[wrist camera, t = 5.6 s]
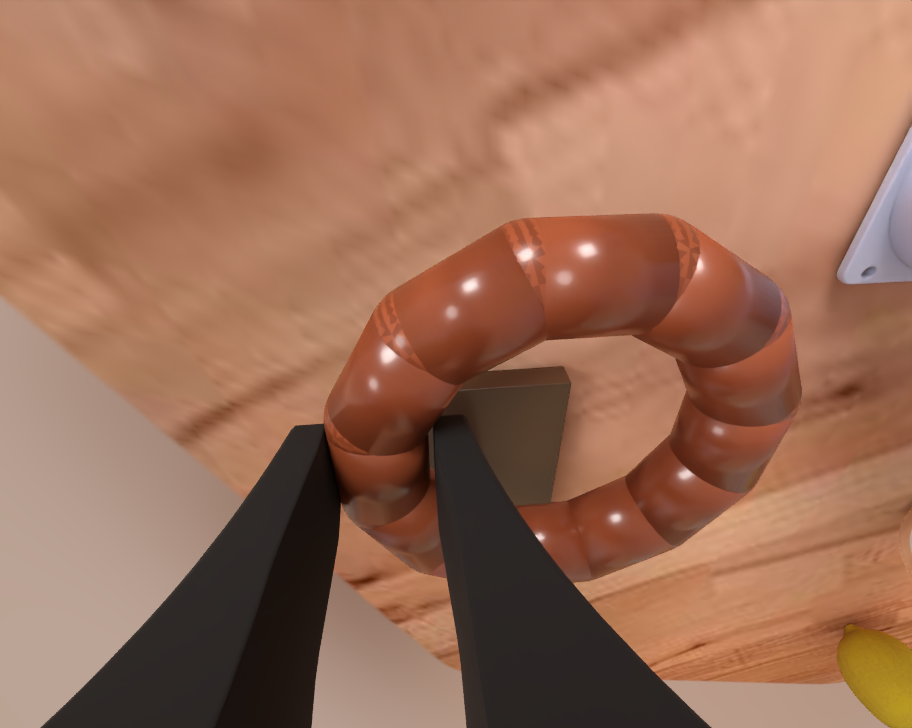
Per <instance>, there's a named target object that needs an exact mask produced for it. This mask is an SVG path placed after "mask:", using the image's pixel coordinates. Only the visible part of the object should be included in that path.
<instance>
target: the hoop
mask: <svg viewBox="0 0 912 728" xmlns="http://www.w3.org/2000/svg"><path fill="white" fill-rule="evenodd" d="M625 335H632V336H634V337H636V338H638V339H640V340H642V341H643V342H645V343H647V344H649V345H651V346H653V347H655V348H657V349H659V350H661V351H663V352H665V353H667V354H669V355H671V356H673V357H674V358H676V361H677V364H678V367H679V370H680V373H681V375H682V378H683V381H684V384H685V387H686V389H687V391H686V393H685V396H684V399H683V401H682V404H681V407H680V410H679V412H678V415H677V418H676V420H675V423H674V426H673V428H672V431H671V434H670V435H669V436H668V437H667V438H666V439H665V440H664V441H662V442H661V443H660V444H659V445H658V446H657V447H656V448H655V449H654V450H653V451H652V452H651V453H650V454H649V455H648V456H646V457H645V458H644V459H643V460H642V461H641V462H640V463H639V464H638V465H637V466H636V467H635V468H634V469H633V470H632V471H630V472H629V473H628V474H627V475H626V476H624V477H621V478H619V479H617V480H615V481H612V482H610V483H608V484H605V485H603V486H601V487H598V488H596V489H594V490H591V491H589V492H587V493H585V494H582V495H580V496H578V497H575V498H573V499H571V500H568V501H563V502H552V503H541V504H530V505H519V506H515V507H516V508H517V510H518V511H519V513H520V514H521V516H522V517H523V519H524V520H525V522H526V523H527V524H528V526H529V527H530V529H531V530H532V531H533V533H534V534H535V536H536V537H537V538H538V540H539V541H540V542H541V544H542V545H543V546H544V548H545V549H546V550H547V552H548V553H549V554H550V556H551V557H552V558H553V560H554V561H555V562H556V563H557V565H558V566H559V567H560V568H561V570H562V571H563V572H564V573H565V575H566V576H567V577H568V578H569V579H570V581H571V582H572V583H576V582H585V581H590V580H595V579H597V578H600V577H602V576H605V575H608V574H610V573H613V572H615V571H618V570H621V569H623V568H626V567H628V566H631V565H633V564H636V563H639V562H641V561H644V560H646V559H649V558H651V557H654V556H657V555H659V554H662V553H664V552H667V551H670V550H672V549H674V548H676V547H678V546H680V545H681V544H683V543H684V542H685V541H687V540H688V539H689V538H691V537H692V536H693V535H695V534H696V533H697V532H698V531H700V530H701V529H702V528H704V527H705V526H706V525H708V524H709V523H710V522H711V521H713V520H714V519H715V518H717V517H718V516H719V515H721V514H722V513H723V512H724V511H726V510H727V509H728V508H730V507H731V506H732V505H734V504H735V503H736V502H737V501H739V500H740V499H741V498H743V497H744V496H745V495H747V494H748V493H749V492H750V491H751V490H752V489H753V488H754V487H755V485H756V484H757V482H758V481H759V479H760V477H761V475H762V474H763V472H764V470H765V468H766V466H767V465H768V463H769V461H770V459H771V458H772V456H773V454H774V452H775V451H776V449H777V447H778V445H779V444H780V442H781V440H782V438H783V437H784V435H785V433H786V431H787V429H788V428H789V426H790V424H791V422H792V421H793V419H794V417H795V415H796V413H797V411H798V409H799V406H800V404H801V396H802V387H801V380H800V373H799V366H798V359H797V352H796V345H795V338H794V331H793V324H792V317H791V311H790V307H789V303H788V301H787V298H786V297H785V295H784V293H783V292H782V290H781V288H779V286H778V285H777V284H776V283H774V282H773V281H772V280H771V279H770V278H769V277H767V276H766V275H764V274H763V273H761V272H760V271H758V270H757V269H755V268H754V267H753V266H751V265H750V264H748V263H747V262H745V261H744V260H742V259H741V258H739V257H738V256H736V255H735V254H733V253H732V252H730V251H729V250H727V249H726V248H725V247H723V246H722V245H720V244H719V243H717V242H716V241H714V240H713V239H711V238H710V237H708V236H707V235H705V234H704V233H702V232H701V231H700V230H698V229H697V228H695V227H694V226H692V225H691V224H689V223H687V222H685V221H684V220H681V219H679V218H677V217H674V216H670V215H665V214H654V213H653V214H624V215H597V216H569V217H542V218H523V219H518V220H515V221H511V222H509V223H506V224H504V225H502V226H500V227H498V228H497V229H495V230H493V231H492V232H490V233H488V234H487V235H485V236H483V237H482V238H480V239H478V240H477V241H475V242H473V243H472V244H470V245H468V246H466V247H465V248H463V249H461V250H460V251H458V252H456V253H455V254H453V255H451V256H450V257H448V258H446V259H445V260H443V261H441V262H440V263H438V264H436V265H434V266H433V267H431V268H429V269H428V270H426V271H424V272H423V273H421V274H419V275H418V276H416V277H414V278H413V279H411V280H409V281H408V282H406V283H404V284H402V285H401V286H399V287H397V288H396V289H394V290H393V291H391V292H390V293H389V294H388V295H386V296H385V297H384V298H383V299H382V301H381V302H380V303H379V304H378V306H377V307H376V309H375V310H374V312H373V314H372V316H371V318H370V320H369V321H368V323H367V325H366V327H365V329H364V331H363V333H362V335H361V337H360V338H359V340H358V342H357V344H356V346H355V348H354V350H353V352H352V354H351V355H350V357H349V359H348V361H347V363H346V365H345V367H344V369H343V371H342V372H341V374H340V376H339V378H338V380H337V382H336V384H335V386H334V388H333V389H332V391H331V393H330V395H329V397H328V400H327V402H326V405H325V409H324V428H325V434H326V439H327V443H328V447H329V452H330V456H331V461H332V465H333V470H334V474H335V478H336V483H337V487H338V492H339V496H340V500H341V503H342V506H343V509H344V511H345V512H346V514H347V516H348V517H349V518H350V519H351V520H352V521H353V522H354V523H355V524H356V525H357V526H358V527H360V528H361V529H362V530H363V531H365V532H366V533H367V534H368V535H370V536H371V537H372V538H374V539H375V540H376V541H377V542H379V543H380V544H381V545H383V546H384V547H385V548H386V549H388V550H389V551H390V552H391V553H393V554H394V555H395V556H397V557H398V558H399V559H400V560H402V561H403V562H404V563H405V564H407V565H408V566H409V567H411V568H412V569H414V570H416V571H418V572H420V573H424V574H428V575H433V576H438V577H442V578H447V575H446V569H445V563H444V558H443V552H442V546H441V540H440V534H439V526H438V513H437V499H436V485H435V471H434V469H433V468H432V467H431V466H430V453H429V431H430V430H431V428H432V427H433V426H434V424H435V423H436V421H437V420H438V418H439V417H440V416H441V414H442V413H443V411H444V410H445V409H446V407H447V406H448V404H449V403H450V402H451V400H452V399H453V397H454V396H455V394H456V393H457V392H458V390H459V389H460V387H461V386H462V385H463V383H465V382H466V381H468V380H470V379H472V378H474V377H476V376H478V375H480V374H482V373H484V372H486V371H488V370H490V369H491V368H493V367H495V366H497V365H499V364H501V363H503V362H505V361H507V360H509V359H511V358H513V357H514V356H516V355H518V354H520V353H522V352H524V351H526V350H528V349H530V348H532V347H534V346H536V345H538V344H539V343H541V342H543V341H545V340H558V339H575V338H591V337H608V336H625Z"/></svg>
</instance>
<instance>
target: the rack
mask: <svg viewBox="0 0 912 728" xmlns="http://www.w3.org/2000/svg"><path fill="white" fill-rule="evenodd" d="M570 387H571V381H570V379H569V377H568V375H567V373H566V371H565V369H564V367H547V368H532V369H517V370H502V371H487V372H484V373H482V374H480V375H478V376H476V377H474V378H472V379H470V380H468V381H466V382H465V383H463V385H462V386H461V387H460V389H459V390H458V392H457V393H456V394H455V396H454V397H453V399H452V400H451V402H450V403H449V404H448V406H447V407H446V409H445V410H444V411H443V413H442V414H441V416H443V415H458V414H463V415H464V416H465V417H467V418H468V421H469V424H470V426H471V428H472V431H473V433H474V435H475V437H476V440H477V442H478V444H479V446H480V448H481V450H482V452H483V453H484V455H485V457H486V459H487V461H488V463H489V465H490V466H491V468H492V470H493V471H494V473H495V475H496V477H497V478H498V480H499V481H500V483H501V485H502V486H503V488H504V489H505V491H506V493H507V494H508V496H509V498H510V499H511V501H512V502H513V504H514V505H515V506H519V505H530V504H541V503H550V502H551V496H552V491H553V485H554V479H555V473H556V468H557V462H558V456H559V450H560V445H561V439H562V433H563V427H564V422H565V416H566V410H567V404H568V399H569V393H570ZM429 453H430V466H431V467H432V468H433V469H434V471H435V465H434V440H433V427H432V428H431V430H430V431H429Z"/></svg>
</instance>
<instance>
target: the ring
mask: <svg viewBox="0 0 912 728" xmlns="http://www.w3.org/2000/svg"><path fill="white" fill-rule="evenodd" d="M899 548H900V553H901V556H902V559H903V562H904V564H905V566H906V568H907V570H908V572H909V574H910V575H911V577H912V509H911V510H910V511H909V512H908V513H907V514H906V516H905V517H904V519H903V521H902V524H901V526H900V530H899Z"/></svg>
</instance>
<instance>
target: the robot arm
mask: <svg viewBox="0 0 912 728" xmlns="http://www.w3.org/2000/svg"><path fill="white" fill-rule="evenodd" d="M865 269H866V270H865ZM864 270H865V271H864ZM863 271H864V272H863ZM837 279H838V280H839V281H841V282H843V283H845V284H849V285H852V284H870V283H888V282H906V281H912V125H911V127H910V129H909V131H908V133H907V135H906V137H905V139H904V141H903V143H902V145H901V147H900V149H899V151H898V153H897V155H896V157H895V159H894V161H893V162H892V164H891V166H890V168H889V170H888V172H887V174H886V176H885V178H884V180H883V182H882V184H881V186H880V188H879V190H878V192H877V194H876V196H875V198H874V200H873V202H872V204H871V206H870V208H869V210H868V212H867V214H866V216H865V218H864V220H863V222H862V224H861V226H860V228H859V230H858V232H857V234H856V235H855V237H854V239H853V241H852V243H851V245H850V247H849V249H848V251H847V253H846V255H845V257H844V259H843V261H842V263H841V265H840V267H839V269H838V272H837ZM433 440H434V465H435V485H436V499H437V513H438V526H439V534H440V540H441V546H442V552H443V558H444V563H445V569H446V575H447V581H448V587H449V592H450V598H451V604H452V610H453V616H454V621H455V627H456V633H457V639H458V646H459V654H460V661H461V671H462V681H463V693H464V704H465V714H466V726H467V728H711V727H710V726H709V725H708V724H707V723H706V722H704V721H703V720H702V719H701V718H700V717H699V716H698V715H697V714H696V713H695V712H694V711H693V710H692V709H691V708H690V707H689V706H688V705H687V704H686V703H685V702H684V701H683V700H682V699H681V698H680V697H679V696H678V695H677V694H676V693H675V692H674V691H672V689H671V688H669V687H668V686H667V685H666V684H665V683H664V682H663V681H662V680H661V679H660V678H659V677H658V676H657V675H656V674H655V673H654V672H653V671H652V670H651V669H650V668H649V667H648V665H647V664H646V663H645V662H644V661H643V660H642V659H641V658H640V657H639V656H638V655H637V654H636V653H635V652H634V651H633V650H632V649H631V648H630V646H629V645H628V644H627V643H626V642H625V641H624V640H623V639H622V638H621V637H620V636H619V635H618V634H617V633H616V632H615V631H614V630H613V629H612V627H611V626H610V625H609V624H608V623H607V622H606V621H605V620H604V619H603V618H602V617H601V616H600V615H599V613H598V612H597V611H596V610H595V609H594V608H593V607H592V605H591V604H590V603H589V602H588V601H587V600H586V598H585V597H584V596H583V595H582V594H581V593H580V591H579V590H578V589H577V588H576V587H575V586H574V584H573V583H572V582H571V581H570V579H569V578H568V577H567V576H566V575H565V573H564V572H563V571H562V570H561V568H560V567H559V566H558V565H557V563H556V562H555V561H554V560H553V558H552V557H551V556H550V554H549V553H548V552H547V550H546V549H545V548H544V546H543V545H542V544H541V542H540V541H539V540H538V538H537V537H536V536H535V534H534V533H533V531H532V530H531V529H530V527H529V526H528V524H527V523H526V522H525V520H524V519H523V517H522V516H521V514H520V513H519V511H518V510H517V508H516V507H515V505H514V504H513V502H512V501H511V499H510V498H509V496H508V494H507V493H506V491H505V489H504V488H503V486H502V485H501V483H500V481H499V480H498V478H497V477H496V475H495V473H494V471H493V470H492V468H491V466H490V465H489V463H488V461H487V459H486V457H485V455H484V453H483V452H482V450H481V448H480V446H479V444H478V442H477V440H476V437H475V435H474V433H473V431H472V428H471V426H470V424H469V421H468V418H467V417H465V416H464V415H463V414H458V415H443V416H440V417H439V418H438V420H437V421H436V423H435V424H434V426H433ZM340 509H341V500H340V496H339V492H338V487H337V483H336V478H335V474H334V470H333V465H332V461H331V456H330V452H329V447H328V443H327V439H326V434H325V428H324V424H313V425H299V426H295V427H294V428H293V429H292V430H291V431H290V433H289V434H288V436H287V437H286V439H285V441H284V442H283V444H282V445H281V447H280V449H279V450H278V452H277V453H276V455H275V456H274V458H273V459H272V461H271V463H270V464H269V466H268V467H267V469H266V470H265V472H264V473H263V475H262V476H261V477H260V479H259V480H258V482H257V483H256V485H255V486H254V488H253V489H252V490H251V492H250V493H249V495H248V496H247V497H246V499H245V500H244V502H243V503H242V505H241V506H240V507H239V509H238V510H237V512H236V513H235V514H234V516H233V517H232V519H231V520H230V521H229V522H228V524H227V525H226V526H225V528H224V529H223V530H222V532H221V533H220V534H219V535H218V537H217V538H216V539H215V541H214V542H213V543H212V544H211V546H210V547H209V548H208V549H207V551H206V552H205V553H204V554H203V556H202V557H201V558H200V560H199V561H198V562H197V563H196V565H195V566H194V567H193V568H192V570H191V571H190V572H189V573H188V574H187V576H186V577H185V578H184V579H183V580H182V581H181V583H180V584H179V585H178V586H177V587H176V588H175V590H174V591H173V592H172V593H171V594H170V595H169V597H168V598H167V599H166V600H165V601H164V602H163V603H162V604H161V606H160V607H159V608H158V609H157V610H156V611H155V612H154V613H153V614H152V616H151V617H150V618H149V619H148V620H147V621H146V622H145V623H144V624H143V626H142V627H141V628H140V629H139V630H138V631H137V632H136V633H135V634H134V635H133V636H132V637H131V638H130V639H129V640H128V641H127V642H126V643H125V644H124V645H123V647H122V648H121V649H120V650H119V651H118V652H117V653H116V654H115V655H114V656H113V657H112V658H111V659H110V660H109V661H108V662H107V663H106V664H105V665H104V667H103V668H102V669H100V670H99V672H98V673H97V674H96V675H95V676H94V677H93V678H92V679H91V680H90V681H89V682H88V683H87V684H86V685H85V686H84V687H83V688H82V689H81V690H80V691H79V692H78V693H76V695H74V697H72V698H71V699H70V700H69V701H68V702H67V703H66V704H65V705H64V706H63V707H62V708H61V709H60V710H59V711H58V712H57V713H56V714H55V715H54V716H52V717H51V718H50V719H49V720H48V721H47V722H46V723H45V724H44V725H43V726H42V727H41V728H311V726H312V713H313V702H314V690H315V679H316V672H317V665H318V657H319V650H320V645H321V639H322V633H323V628H324V622H325V616H326V610H327V604H328V599H329V592H330V587H331V581H332V576H333V570H334V564H335V558H336V552H337V546H338V540H339V526H340Z"/></svg>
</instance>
